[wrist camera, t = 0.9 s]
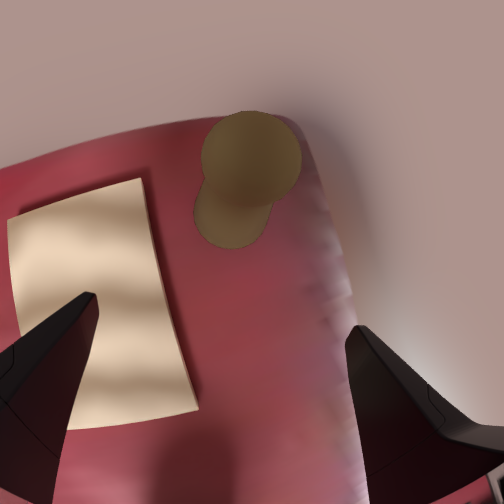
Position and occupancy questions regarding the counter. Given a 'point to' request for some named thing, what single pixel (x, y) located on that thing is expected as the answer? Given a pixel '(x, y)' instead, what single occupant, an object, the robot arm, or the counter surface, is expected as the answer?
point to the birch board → (104, 301)
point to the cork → (244, 176)
